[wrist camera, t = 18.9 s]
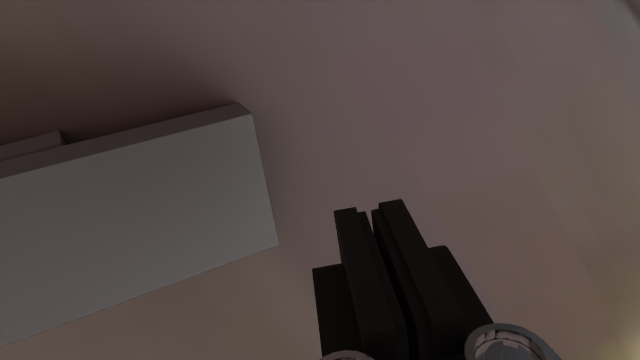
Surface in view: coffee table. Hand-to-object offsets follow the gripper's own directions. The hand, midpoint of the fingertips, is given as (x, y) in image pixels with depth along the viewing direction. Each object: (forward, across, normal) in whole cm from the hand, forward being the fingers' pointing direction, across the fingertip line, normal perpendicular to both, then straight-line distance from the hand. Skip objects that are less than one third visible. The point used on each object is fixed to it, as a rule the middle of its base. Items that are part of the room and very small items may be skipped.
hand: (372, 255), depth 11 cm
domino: (+5, +3, 0) cm, 6 cm away
